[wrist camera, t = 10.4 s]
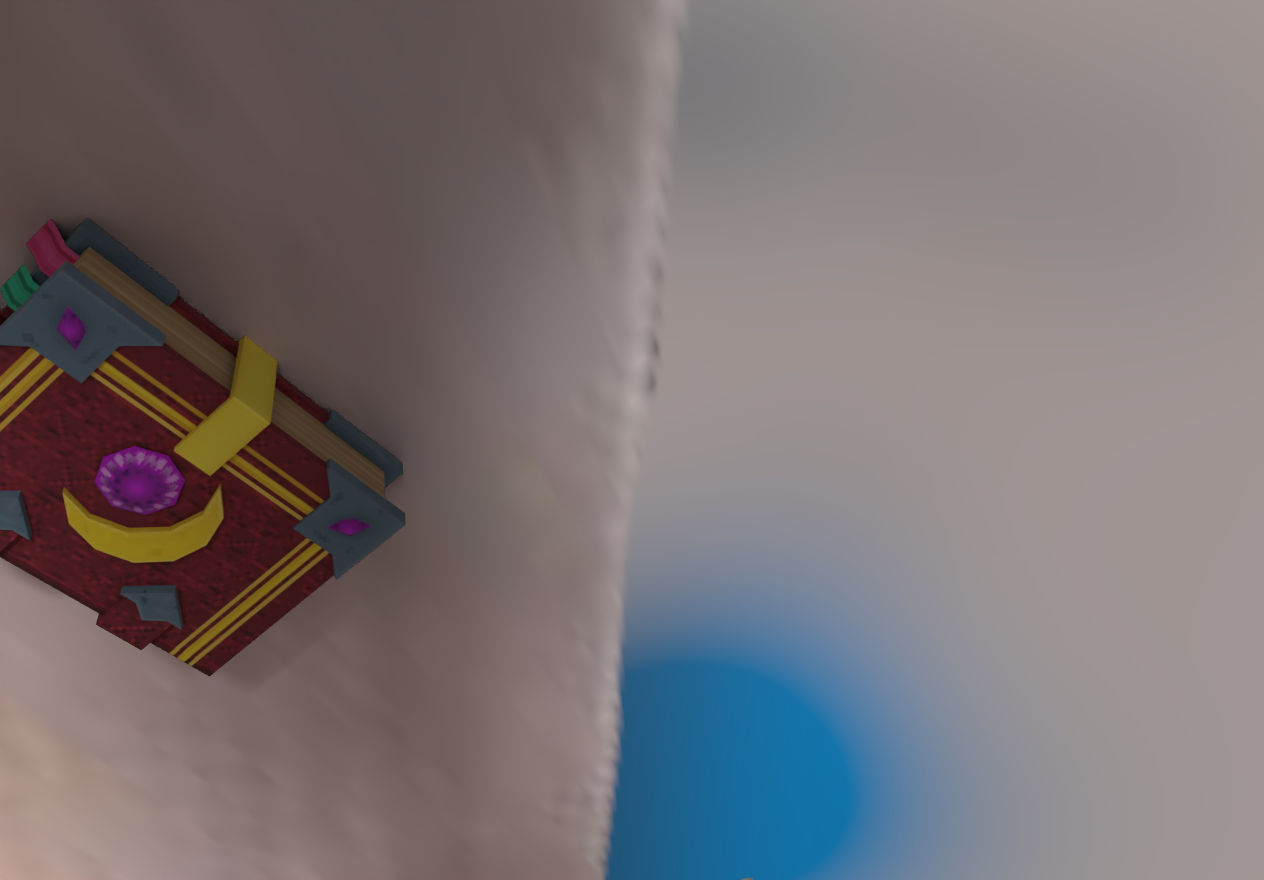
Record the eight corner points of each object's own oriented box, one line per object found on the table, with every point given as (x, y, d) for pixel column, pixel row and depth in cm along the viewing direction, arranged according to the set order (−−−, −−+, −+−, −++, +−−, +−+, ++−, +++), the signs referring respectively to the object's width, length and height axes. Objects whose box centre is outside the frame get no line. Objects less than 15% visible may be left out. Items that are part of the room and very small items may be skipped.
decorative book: (218, 610, 51) (206, 694, 47) (-140, 391, 42) (-194, 471, 38) (404, 456, 48) (408, 531, 44) (62, 188, 39) (27, 251, 35)
